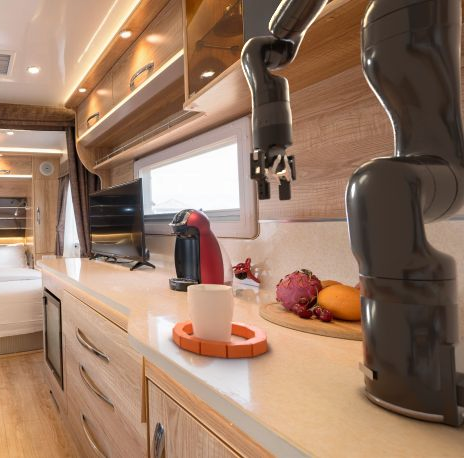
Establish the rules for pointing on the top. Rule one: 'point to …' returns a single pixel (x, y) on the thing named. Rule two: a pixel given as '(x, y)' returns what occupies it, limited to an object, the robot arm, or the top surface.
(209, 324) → the cup
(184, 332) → the ring
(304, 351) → the top surface
